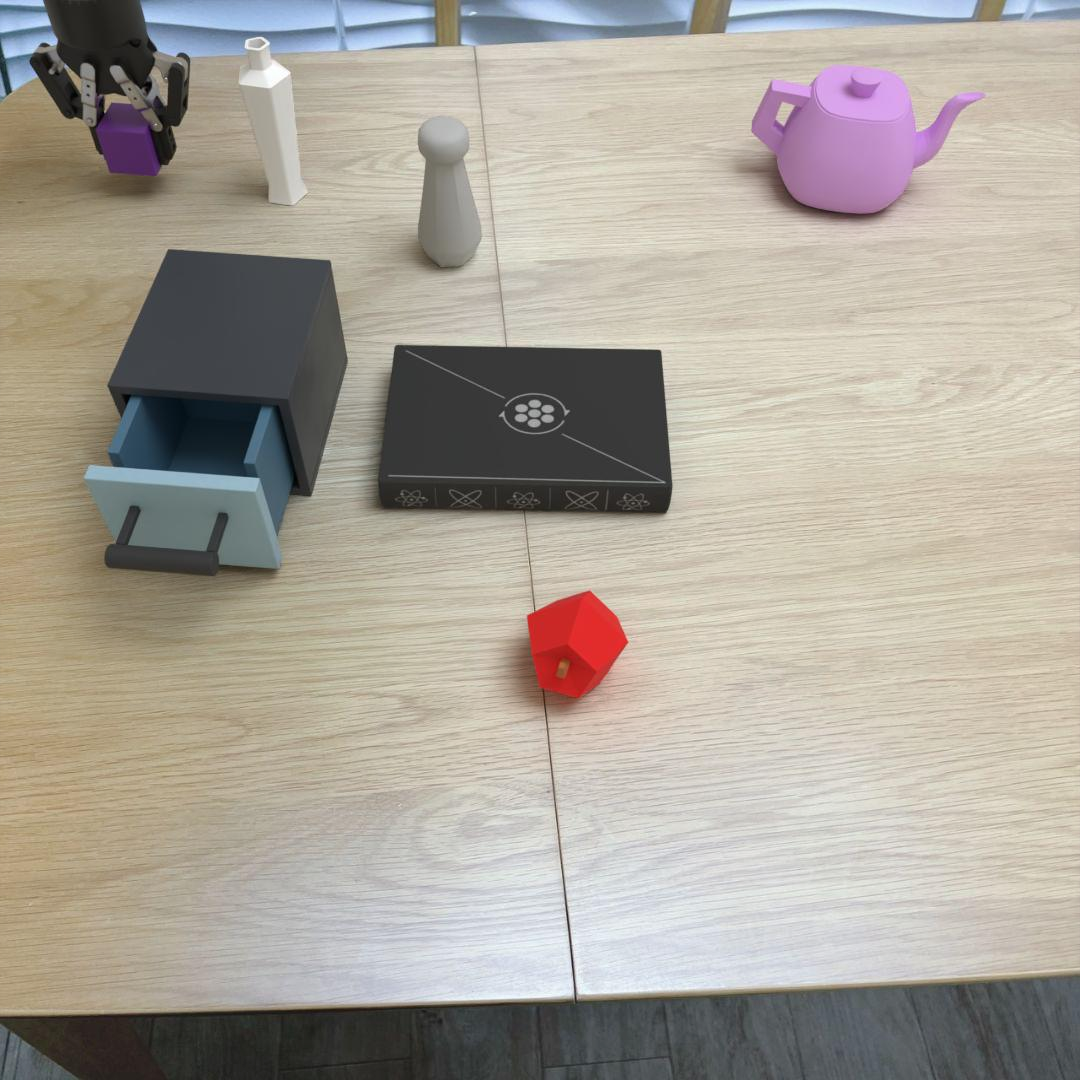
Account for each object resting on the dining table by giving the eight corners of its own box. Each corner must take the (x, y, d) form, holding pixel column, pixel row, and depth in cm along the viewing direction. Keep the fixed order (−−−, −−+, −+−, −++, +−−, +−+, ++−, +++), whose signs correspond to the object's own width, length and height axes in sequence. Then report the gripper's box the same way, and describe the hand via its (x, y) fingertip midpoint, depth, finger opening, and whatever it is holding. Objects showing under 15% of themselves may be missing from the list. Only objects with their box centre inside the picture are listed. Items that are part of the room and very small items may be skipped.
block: (109, 173, 102) (95, 129, 98) (124, 145, 104) (111, 101, 101) (157, 176, 102) (144, 133, 98) (170, 148, 104) (159, 105, 101)
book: (380, 511, 82) (376, 486, 80) (397, 370, 91) (394, 344, 89) (668, 516, 82) (673, 490, 80) (657, 375, 91) (661, 349, 89)
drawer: (263, 626, 75) (236, 551, 68) (100, 613, 75) (57, 537, 68) (318, 429, 86) (300, 346, 79) (175, 418, 86) (144, 335, 79)
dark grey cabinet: (311, 496, 83) (288, 398, 74) (148, 483, 83) (106, 385, 75) (348, 361, 92) (330, 259, 83) (200, 350, 92) (167, 248, 84)
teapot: (950, 236, 103) (992, 130, 94) (737, 208, 105) (758, 102, 96) (946, 153, 110) (983, 48, 102) (748, 129, 112) (768, 24, 103)
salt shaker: (495, 248, 101) (492, 121, 90) (457, 282, 98) (450, 155, 87) (444, 225, 102) (436, 97, 92) (406, 257, 100) (393, 130, 89)
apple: (556, 550, 74) (523, 616, 67) (648, 591, 73) (624, 662, 67) (525, 623, 78) (491, 693, 71) (613, 663, 77) (586, 737, 71)
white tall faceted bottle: (252, 192, 105) (217, 42, 93) (290, 174, 107) (261, 24, 95) (279, 215, 103) (247, 64, 91) (317, 196, 105) (291, 46, 93)
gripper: (183, -42, 91) (224, 141, 105) (15, -54, 92) (78, 130, 105) (157, 3, 87) (203, 188, 100) (-20, -10, 87) (50, 176, 101)
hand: (139, 157), depth 103 cm, fingers closed on block, 4 cm apart
